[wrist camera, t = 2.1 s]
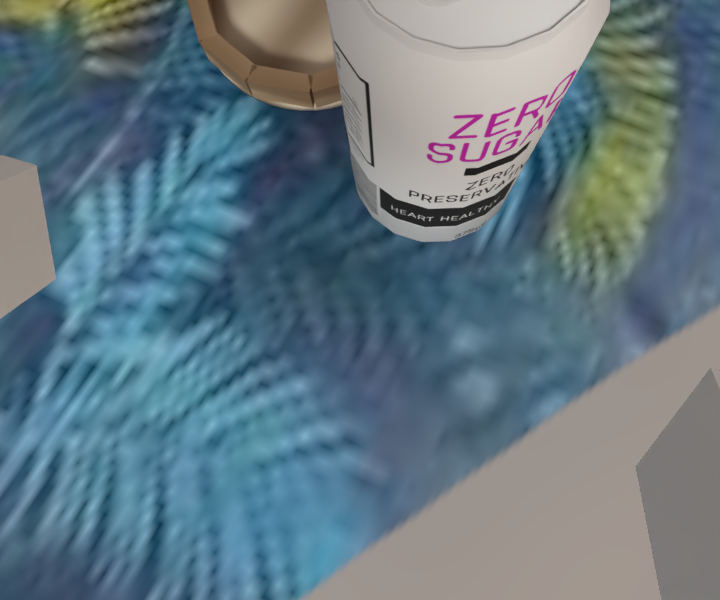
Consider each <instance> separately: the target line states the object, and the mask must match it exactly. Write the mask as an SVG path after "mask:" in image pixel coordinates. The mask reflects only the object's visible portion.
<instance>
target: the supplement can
mask: <svg viewBox="0 0 720 600" xmlns="http://www.w3.org/2000/svg"><path fill="white" fill-rule="evenodd" d="M326 6H327V12H328V18H329V24H330V31H331V37H332V43H333V49H334V56H335V62H336V68H337V74H338V81H339V87H340V93H341V100H342V106H343V112H344V118H345V125H346V131H347V137H348V143H349V150H350V156H351V162H352V168H353V173H354V178H355V183H356V188H357V192H358V195H359V197H360V198H361V200H362V202H363V203H364V205H365V206H366V208H367V209H368V211H369V212H370V214H371V215H372V217H373V218H375V219H376V220H377V221H379V222H380V223H381V224H383V225H384V226H385V227H387V228H388V229H389V230H391V231H392V232H393V233H395V234H398V235H401V236H404V237H407V238H411V239H414V240H417V241H420V242H435V241H452V240H454V239H457V238H459V237H462V236H465V235H467V234H470V233H472V232H475V231H477V230H478V229H480V228H481V227H482V226H483V225H484V224H485V223H486V222H487V221H489V220H490V219H491V218H492V217H493V216H494V215H495V214H497V213H498V211H499V210H500V208H501V206H502V204H503V203H504V201H505V199H506V197H507V196H508V194H509V192H510V190H511V189H512V187H513V185H514V183H515V181H516V180H517V178H518V176H519V174H520V173H521V171H522V169H523V167H524V166H525V164H526V162H527V160H528V158H529V157H530V155H531V153H532V151H533V150H534V148H535V146H536V144H537V143H538V141H539V139H540V137H541V135H542V134H543V132H544V130H545V128H546V127H547V125H548V123H549V121H550V120H551V118H552V116H553V114H554V113H555V111H556V109H557V107H558V105H559V104H560V102H561V100H562V98H563V97H564V95H565V93H566V91H567V90H568V88H569V86H570V84H571V82H572V81H573V79H574V77H575V75H576V74H577V72H578V70H579V68H580V67H581V65H582V63H583V61H584V59H585V58H586V56H587V54H588V52H589V50H590V48H591V47H592V45H593V43H594V41H595V39H596V37H597V35H598V33H599V31H600V30H601V28H602V26H603V24H604V22H605V20H606V18H607V16H608V14H609V10H610V0H326Z"/></svg>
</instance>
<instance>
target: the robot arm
mask: <svg viewBox="0 0 720 600" xmlns="http://www.w3.org/2000/svg"><path fill="white" fill-rule="evenodd" d="M55 279H56V275H55V270H54V264H53V258H52V252H51V247H50V241H49V235H48V229H47V224H46V218H45V212H44V206H43V201H42V195H41V189H40V183H39V178H38V172H37V166H36V165H34V164H30V163H27V162H24V161H20V160H17V159H14V158H10V157H7V156H4V155H1V156H0V318H2V317H3V316H5V315H6V314H7V313H9V312H10V311H12V310H13V309H14V308H16V307H17V306H19V305H20V304H22V303H23V302H24V301H26V300H27V299H29V298H30V297H31V296H33V295H34V294H36V293H37V292H38V291H40V290H41V289H43V288H44V287H45V286H47V285H48V284H50V283H51V282H52V281H54V280H55ZM636 471H637V476H638V481H639V486H640V492H641V497H642V502H643V507H644V512H645V517H646V523H647V528H648V533H649V538H650V543H651V548H652V554H653V559H654V564H655V569H656V574H657V579H658V585H659V590H660V595H661V600H720V370H717V369H714V368H710V369H709V371H708V372H707V373H706V375H705V376H704V377H703V378H702V380H701V381H700V382H699V384H698V385H697V386H696V388H695V389H694V390H693V392H692V393H691V394H690V396H689V397H688V398H687V400H686V401H685V402H684V404H683V405H682V406H681V407H680V409H679V410H678V411H677V413H676V414H675V415H674V417H673V418H672V419H671V421H670V422H669V423H668V425H667V426H666V427H665V429H664V430H663V431H662V433H661V434H660V435H659V437H658V438H657V439H656V441H655V442H654V443H653V444H652V446H651V447H650V449H649V450H648V451H647V452H646V454H645V455H644V456H643V458H642V459H641V460H640V462H639V463H638V464H637V465H636Z"/></svg>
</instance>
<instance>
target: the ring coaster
mask: <svg viewBox="0 0 720 600" xmlns="http://www.w3.org/2000/svg"><path fill="white" fill-rule="evenodd" d="M187 1H188V5H189V8H190V12H191V15H192V19H193V22H194V26H195V29H196V33H197V37H198V40H199V42H200V44H201V46H202V48H203V50H204V52H205V53H206V55H207V57H208V59H209V61H211V62H212V63H213V64H214V65H215V66H217V67H218V68H219V70H220V71H221V72H222V73H223V75H224V76H225V77H226V78H227V79H228V80H229V81H230V82H231V83H232V84H233V85H235V86H236V87H237V88H239V89H240V90H241V91H243V92H244V93H246V94H248V95H249V96H251V97H253V98H255V99H257V100H259V101H261V102H264V103H267V104H269V105H272V106H276V107H280V108H284V109H291V110H299V111H317V110H325V109H333V108H337V107H341V106H342V100H341V93H340V87H339V81H338V74H337V68H336V62H335V56H334V49H333V43H332V37H331V31H330V24H329V18H328V12H327V6H326V0H187Z"/></svg>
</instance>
